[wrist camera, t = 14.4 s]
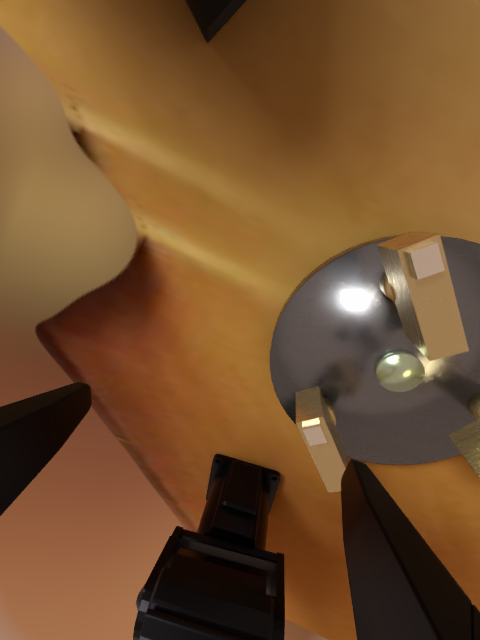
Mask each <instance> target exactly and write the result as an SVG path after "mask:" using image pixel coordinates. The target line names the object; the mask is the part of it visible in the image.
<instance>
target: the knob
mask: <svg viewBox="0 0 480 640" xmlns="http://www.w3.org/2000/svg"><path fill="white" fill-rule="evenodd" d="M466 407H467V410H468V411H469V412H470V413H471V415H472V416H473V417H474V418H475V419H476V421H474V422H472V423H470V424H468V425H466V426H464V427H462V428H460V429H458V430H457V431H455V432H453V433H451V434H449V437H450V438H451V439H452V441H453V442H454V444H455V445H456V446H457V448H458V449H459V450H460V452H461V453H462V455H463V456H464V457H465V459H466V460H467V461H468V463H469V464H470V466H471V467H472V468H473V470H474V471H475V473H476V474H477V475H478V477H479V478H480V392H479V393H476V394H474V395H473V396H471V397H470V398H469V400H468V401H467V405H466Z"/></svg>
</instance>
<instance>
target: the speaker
mask: <svg viewBox="0 0 480 640" xmlns="http://www.w3.org/2000/svg"><path fill="white" fill-rule="evenodd" d="M185 1H186V3H187V5H188V7H189V9H190V11H191V12H192V14H193V16H194V18H195V20H196V22H197V24H198V26H199V28H200V30H201V32H202V34H203V36H204V38H205V40H206V41H207V42H208V41H209V40H210V39H211V38H212V37H213V36H214V35H215V33H216V32H217V31H218V30H219V29H220V28H221V27H222V26H223V25H224V24H225V22H226V21H227V20H228V19H229V18H230V17H231V16H232V15H233V14H234V12H235V11H236V10H237V9H238V8H239V7H240V6H241V5H242V4H243V3H244V1H245V0H185Z"/></svg>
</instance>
